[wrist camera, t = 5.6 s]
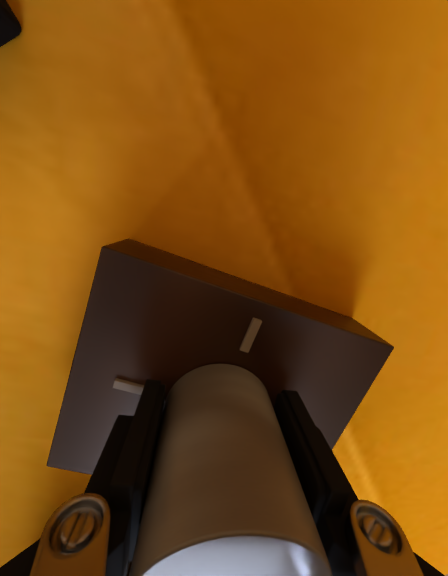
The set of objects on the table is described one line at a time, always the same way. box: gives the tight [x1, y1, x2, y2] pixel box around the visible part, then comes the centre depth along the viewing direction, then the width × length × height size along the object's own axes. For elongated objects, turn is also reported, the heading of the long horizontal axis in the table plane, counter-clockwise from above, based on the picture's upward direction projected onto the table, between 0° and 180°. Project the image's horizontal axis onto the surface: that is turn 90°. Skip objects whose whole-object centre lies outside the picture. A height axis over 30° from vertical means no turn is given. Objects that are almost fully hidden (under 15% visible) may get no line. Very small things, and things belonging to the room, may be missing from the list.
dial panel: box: [47, 239, 394, 475], centre depth 12 cm, size 12×10×3 cm
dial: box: [129, 364, 333, 576], centre depth 8 cm, size 4×4×6 cm
